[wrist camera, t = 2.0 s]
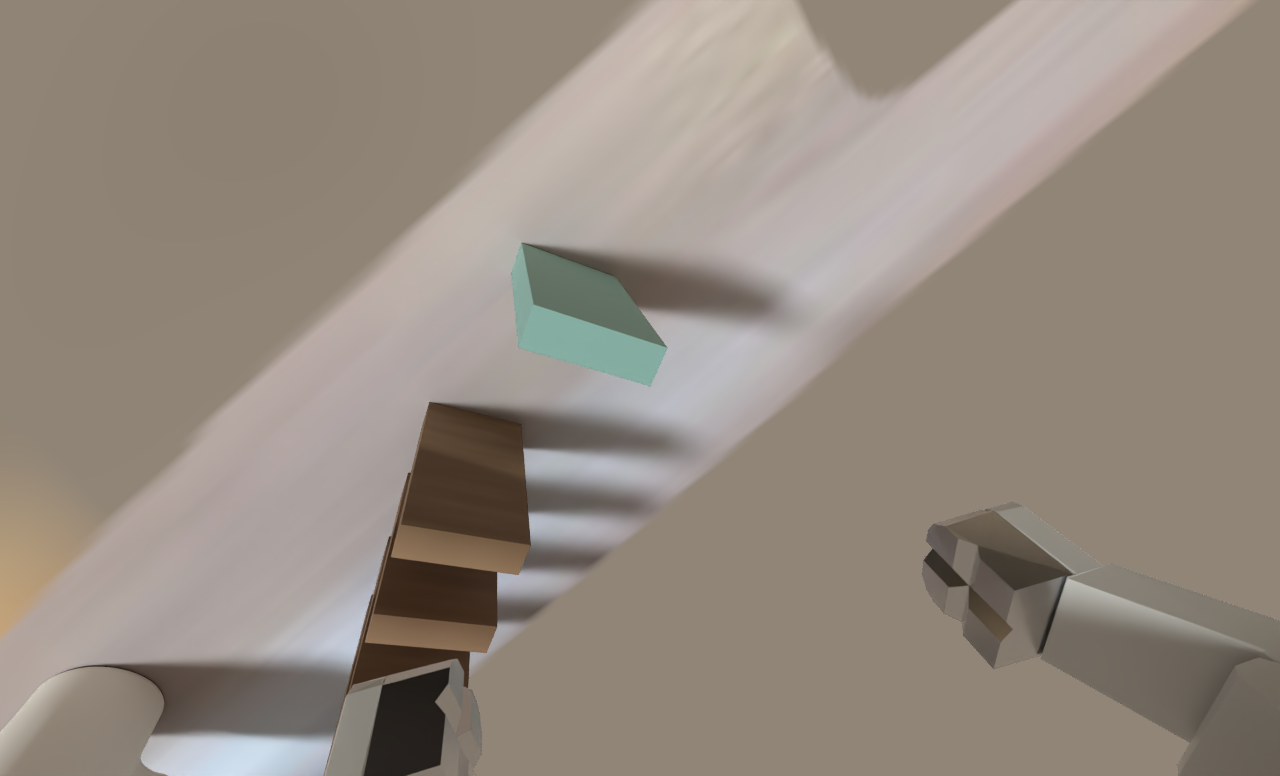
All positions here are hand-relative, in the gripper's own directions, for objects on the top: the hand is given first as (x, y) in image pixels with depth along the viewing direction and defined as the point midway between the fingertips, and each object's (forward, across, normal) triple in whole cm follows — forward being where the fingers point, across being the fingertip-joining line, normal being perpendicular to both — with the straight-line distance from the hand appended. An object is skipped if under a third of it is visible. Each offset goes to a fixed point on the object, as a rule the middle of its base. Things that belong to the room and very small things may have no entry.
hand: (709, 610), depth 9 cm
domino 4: (+22, +7, +7) cm, 24 cm away
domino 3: (+22, +9, +11) cm, 26 cm away
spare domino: (+22, 0, 0) cm, 22 cm away
